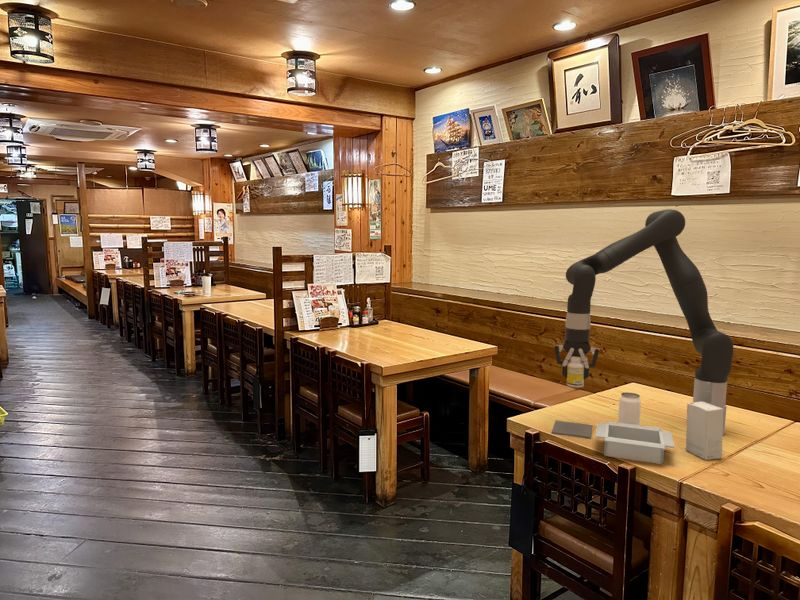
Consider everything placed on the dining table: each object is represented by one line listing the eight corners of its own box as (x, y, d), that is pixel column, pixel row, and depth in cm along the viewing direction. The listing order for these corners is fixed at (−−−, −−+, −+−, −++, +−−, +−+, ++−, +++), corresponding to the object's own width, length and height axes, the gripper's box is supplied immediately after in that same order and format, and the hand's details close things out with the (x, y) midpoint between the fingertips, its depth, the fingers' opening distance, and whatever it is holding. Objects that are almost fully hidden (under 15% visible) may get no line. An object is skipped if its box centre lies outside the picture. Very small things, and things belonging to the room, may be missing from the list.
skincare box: (722, 459, 159) (726, 409, 158) (704, 461, 158) (708, 410, 156) (700, 448, 168) (704, 400, 166) (683, 449, 166) (686, 401, 164)
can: (640, 434, 178) (643, 398, 177) (619, 433, 180) (621, 397, 178) (636, 427, 185) (638, 392, 183) (616, 426, 186) (618, 391, 184)
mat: (592, 426, 185) (592, 424, 185) (590, 439, 174) (590, 437, 174) (555, 421, 190) (555, 420, 190) (551, 433, 179) (551, 431, 178)
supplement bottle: (571, 382, 184) (572, 353, 183) (586, 385, 180) (588, 356, 179) (563, 385, 180) (564, 355, 179) (578, 388, 176) (580, 358, 175)
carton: (668, 446, 169) (670, 429, 168) (673, 469, 152) (675, 449, 152) (596, 436, 176) (597, 420, 175) (594, 457, 160) (595, 439, 159)
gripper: (602, 326, 179) (599, 377, 181) (555, 323, 184) (553, 373, 186) (601, 330, 172) (598, 383, 174) (553, 326, 177) (551, 378, 179)
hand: (575, 377), depth 180 cm, fingers closed on supplement bottle, 5 cm apart
